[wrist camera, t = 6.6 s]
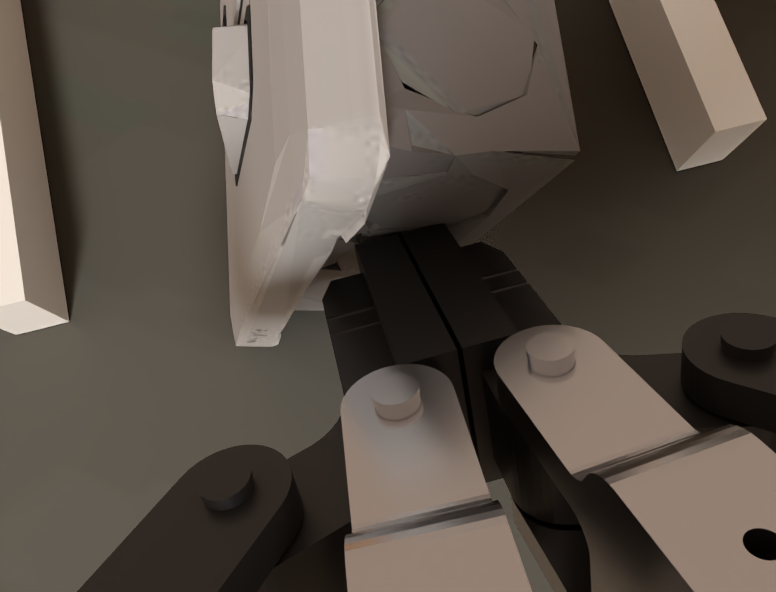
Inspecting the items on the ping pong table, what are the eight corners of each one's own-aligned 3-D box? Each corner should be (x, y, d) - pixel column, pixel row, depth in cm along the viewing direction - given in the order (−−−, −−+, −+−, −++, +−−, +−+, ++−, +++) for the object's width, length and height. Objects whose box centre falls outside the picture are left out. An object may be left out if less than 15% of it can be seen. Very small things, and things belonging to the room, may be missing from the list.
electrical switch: (224, 1, 18) (134, -478, 9) (419, 0, 18) (520, -446, 10) (235, 357, 16) (129, 196, 7) (458, 342, 16) (638, 177, 7)
